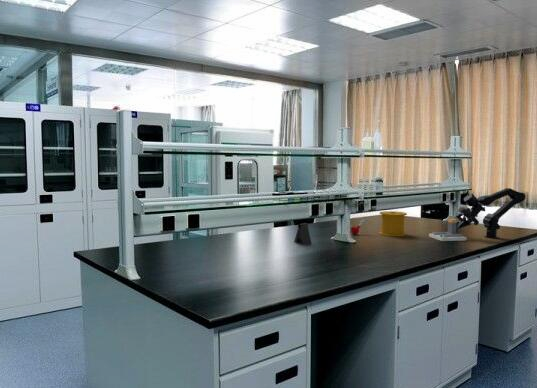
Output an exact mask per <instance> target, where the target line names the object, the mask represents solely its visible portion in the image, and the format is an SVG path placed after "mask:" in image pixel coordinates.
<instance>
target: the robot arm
mask: <svg viewBox="0 0 537 388" xmlns="http://www.w3.org/2000/svg"><path fill="white" fill-rule="evenodd" d="M506 196H508V197H509V198H508V199H507V201H506V202H505V203H503V204H502V205H501V206H500V207H499V208H498V209H497V210H496V211H495V212H493V213H489V212H488V213H487V214H486V215H485V216H484V217H483V219H482V224H483V226H484V228H486V232H485V233H486V235H484V236H483V237H484V238H489V239H497V238H500V237H499V236H498V230H500V229H501V225H500V224H499V221H500V219H501V217H503V216H504V215H505V214H506V213H507V212H508V211H510V210H511V209H512V208H513V207H514V206H516V205H518V204H521V203H522V202H524V201H525V200H526V194H525V193H524V192H520V191H517V190H514V189H512V188H511V187H510V188H508V187H506V188H504V189H502V190H499V191H497V192H494V193H491V194H487V195H481V196H479V197H478V198H477V197H476V196H475V195H474V193H470V194H468V195H466V196H464V198H463V201H464V202H465V203H466V205H467V207H462V206H460V207H458V210H457V212H458V213H456V214H454V216H455V218H456V220H458V221H459V223H458V225H457V226H456V229H458V230H459V229H463V228H465V227H467V226H472V223H473V225H474V226H478V225H479V224H480V221H479V220H478V219H477V218H478V216H479V213H481V212H486V207H488V206H490V205H491V204H492V203H494V202H495V201H496V200H499V199H501V198H505V197H506ZM468 206H469V207H470V208H469V207H468ZM485 206H486V207H485Z"/></svg>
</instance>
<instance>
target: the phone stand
mask: <svg viewBox="0 0 537 388" xmlns="http://www.w3.org/2000/svg"><path fill="white" fill-rule="evenodd" d="M293 242H294V243H295V242H296V244H300V243H301V245H309V244H312V238H311V235H310V231H309V224H308V223H307V222H303V223H298V224H297V231H296V234H295V237H294V241H293ZM308 243H309V244H308Z"/></svg>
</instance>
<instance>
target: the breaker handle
mask: <svg viewBox="0 0 537 388" xmlns="http://www.w3.org/2000/svg"><path fill="white" fill-rule="evenodd" d="M457 220H458V219H457V218H456V219H455V218H447V231H445V232H446V234H457V223H458V221H457Z"/></svg>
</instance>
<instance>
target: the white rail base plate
mask: <svg viewBox="0 0 537 388" xmlns="http://www.w3.org/2000/svg"><path fill="white" fill-rule="evenodd" d="M446 232H447V231H432V233H429V234H428V237H429V238H433V239H435V240H437V241H441V242H457V241H459V242H462V241H463V242H464V241H467V240H468V239H467V237H466V236H463V234H462V233H456V234H446Z"/></svg>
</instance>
